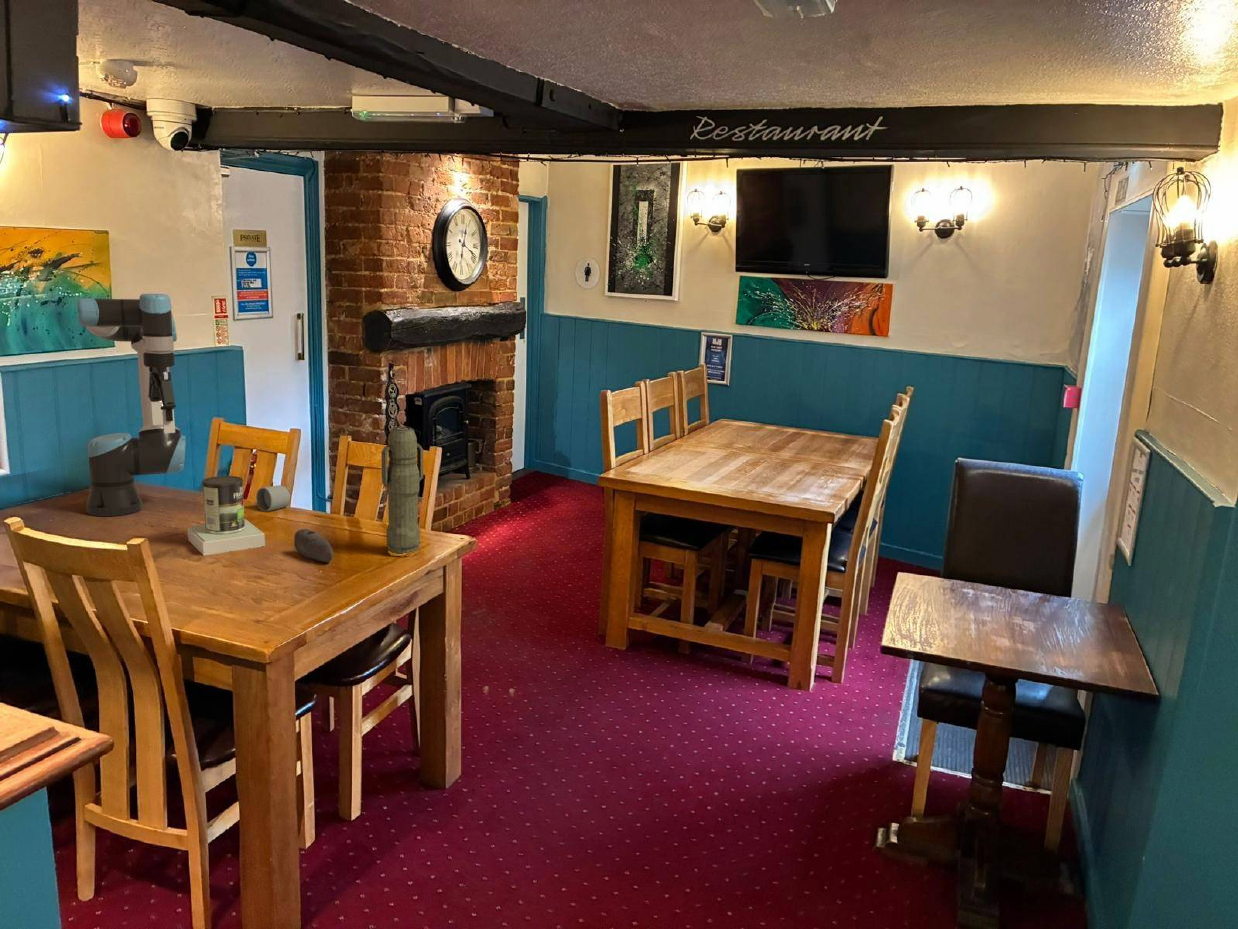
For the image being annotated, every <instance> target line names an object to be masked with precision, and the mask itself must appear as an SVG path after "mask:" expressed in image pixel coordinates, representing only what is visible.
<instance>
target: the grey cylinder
mask: <svg viewBox="0 0 1238 929" xmlns="http://www.w3.org/2000/svg"><path fill="white" fill-rule="evenodd" d="M291 499H292V496H291V492H290V490H289V488H288V487H287V486H285V485H271V486H270V485H269V486H263V487H261V488H259V489H258V490H257V491H256V496H255V500H256V506H257V507H258V508H259V509H260V510H261V511H262V512H266V513H267V512H270V511H274V510H279V509H283V508H285V507H288V505H289V504H290V503H291Z"/></svg>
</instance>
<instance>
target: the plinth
mask: <svg viewBox="0 0 1238 929" xmlns="http://www.w3.org/2000/svg"><path fill="white" fill-rule="evenodd" d="M244 521H245V529H244V530H242V531H239V532H236V533H230V534H212V533H208V532H206V531H205V529H206V528H205V524H199V525H193V526H192V525H191V526H189V527H187V539H188V541H189V542H190V543H191V545H193V547H195V549H197V551H199V552H200V553H201V555H203V556H209V555H217V554H223V553H231V552H235V551H243V550H249V548H250V549H256V548H262V546H263V547H266V535H265V533H264V532H262V530H260V529H259V528H258V527H257V526H255V525H254V524H252V523H251V522H250V521H249V520H248V519H246V518H244ZM230 551H231V552H230Z"/></svg>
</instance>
